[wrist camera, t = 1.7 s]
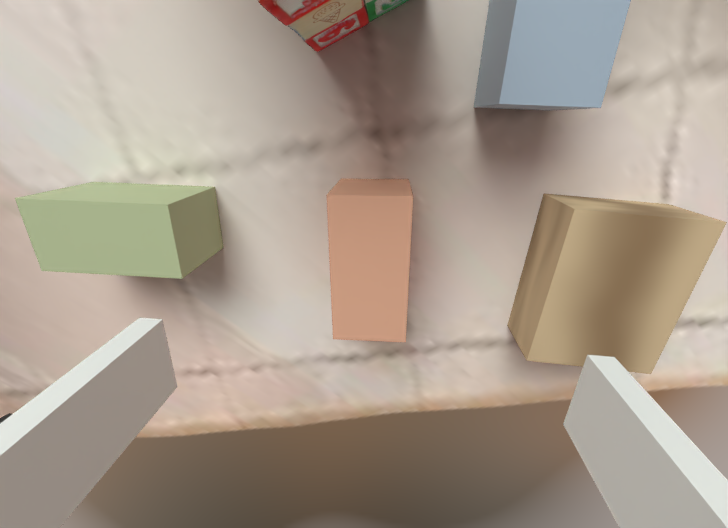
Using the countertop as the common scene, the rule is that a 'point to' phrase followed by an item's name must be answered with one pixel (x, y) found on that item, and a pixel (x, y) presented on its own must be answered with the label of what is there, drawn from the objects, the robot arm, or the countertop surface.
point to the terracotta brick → (370, 258)
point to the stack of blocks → (327, 17)
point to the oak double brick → (608, 279)
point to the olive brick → (123, 228)
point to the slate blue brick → (548, 53)
